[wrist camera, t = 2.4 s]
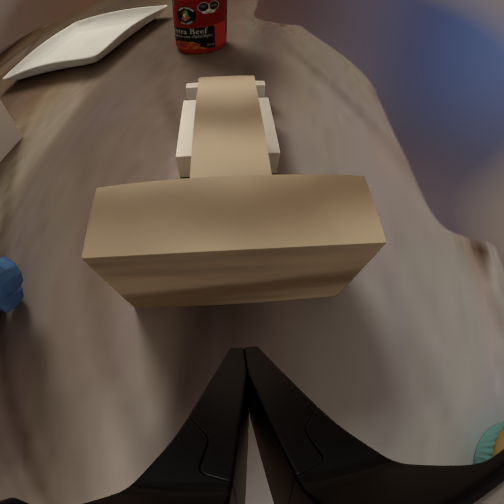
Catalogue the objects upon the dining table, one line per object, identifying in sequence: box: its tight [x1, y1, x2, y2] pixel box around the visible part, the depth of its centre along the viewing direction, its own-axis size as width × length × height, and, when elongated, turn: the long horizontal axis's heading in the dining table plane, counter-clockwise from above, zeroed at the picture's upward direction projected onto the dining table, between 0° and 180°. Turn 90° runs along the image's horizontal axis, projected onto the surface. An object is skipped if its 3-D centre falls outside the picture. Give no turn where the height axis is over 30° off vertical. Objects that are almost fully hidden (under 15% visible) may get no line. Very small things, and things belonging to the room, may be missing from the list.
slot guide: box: [176, 81, 280, 177], centre depth 25 cm, size 12×8×2 cm
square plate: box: [3, 5, 168, 80], centre depth 38 cm, size 27×27×4 cm
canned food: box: [172, 0, 227, 54], centre depth 31 cm, size 8×8×11 cm
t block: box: [82, 76, 386, 307], centre depth 19 cm, size 14×14×8 cm
